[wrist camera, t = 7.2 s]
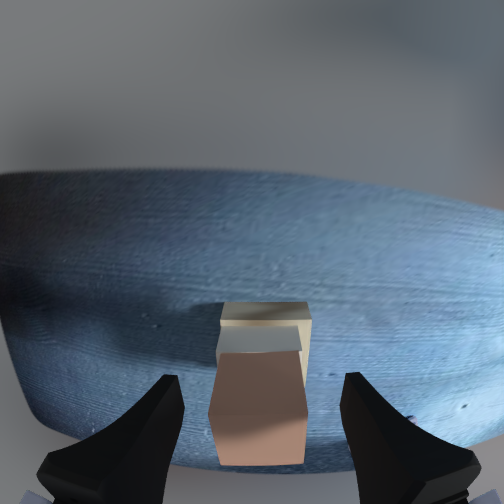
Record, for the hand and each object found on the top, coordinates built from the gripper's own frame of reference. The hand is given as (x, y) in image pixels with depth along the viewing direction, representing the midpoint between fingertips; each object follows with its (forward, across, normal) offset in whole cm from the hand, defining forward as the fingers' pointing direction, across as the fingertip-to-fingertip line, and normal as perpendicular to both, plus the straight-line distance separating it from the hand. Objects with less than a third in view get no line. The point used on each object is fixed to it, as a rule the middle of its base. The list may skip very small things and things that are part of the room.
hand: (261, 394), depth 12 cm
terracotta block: (+5, 0, +4) cm, 6 cm away
